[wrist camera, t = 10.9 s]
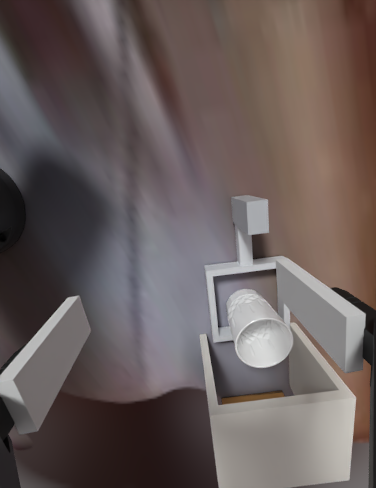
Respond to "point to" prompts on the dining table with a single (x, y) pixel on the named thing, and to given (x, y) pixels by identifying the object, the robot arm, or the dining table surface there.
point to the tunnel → (285, 427)
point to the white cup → (257, 330)
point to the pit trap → (252, 397)
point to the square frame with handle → (243, 256)
